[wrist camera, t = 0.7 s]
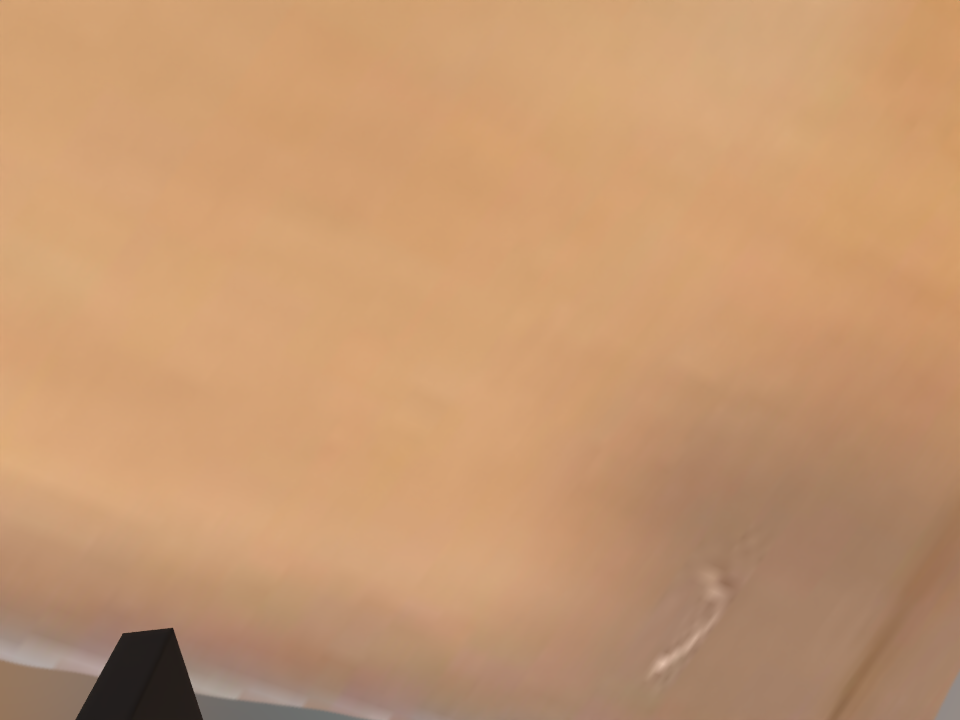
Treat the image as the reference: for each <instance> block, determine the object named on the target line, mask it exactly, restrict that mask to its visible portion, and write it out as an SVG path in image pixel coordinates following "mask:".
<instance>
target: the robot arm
mask: <svg viewBox="0 0 960 720" xmlns="http://www.w3.org/2000/svg"><path fill="white" fill-rule="evenodd" d="M76 720H203V718H202V715H201V712H200V709H199V706H198V703H197V700H196V697H195V694H194V691H193V688H192V685H191V682H190V679H189V676H188V672H187V669H186V666H185V663H184V660H183V657H182V654H181V651H180V648H179V645H178V642H177V639H176V636H175V633H174V630H173V628H168V629H159V630H150V631H141V632H131V633H123V634H122V636H121V638H120V640H119V642H118V643H117V645H116V647H115V649H114V651H113V652H112V654H111V656H110V658H109V660H108V662H107V663H106V665H105V667H104V669H103V671H102V672H101V674H100V676H99V678H98V680H97V682H96V683H95V685H94V687H93V689H92V691H91V692H90V694H89V696H88V698H87V700H86V702H85V704H84V705H83V707H82V709H81V711H80V713H79V714H78V716H77V718H76Z"/></svg>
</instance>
